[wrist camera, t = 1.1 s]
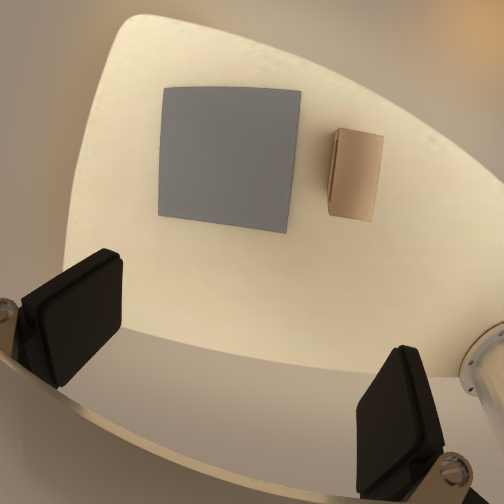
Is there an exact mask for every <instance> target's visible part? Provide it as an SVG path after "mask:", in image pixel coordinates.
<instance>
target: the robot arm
mask: <svg viewBox="0 0 504 504" xmlns="http://www.w3.org/2000/svg"><path fill="white" fill-rule="evenodd" d="M122 274H123V261H122V259H120V255H119V254H118V253H116V252H114V251H111V250H108V249H106V248H103V249H101V250H99V251H97V252H96V253H94V254H92V255H91V256H89V257H87V258H86V259H84V260H82V261H81V262H79V263H77V264H76V265H74V266H72V267H71V268H69V269H67V270H66V271H64V272H62V273H61V274H59V275H58V276H56V277H54V278H53V279H51V280H50V281H48V282H46V283H45V284H43V285H42V286H40V287H39V288H37V289H36V290H34V291H32V292H31V293H29V294H28V295H26V296H25V297H23V298H22V299H21V302H22V306H21V307H20V308H18V306H17V304H16V303H15V302H14V301H12V300H10V299H7V298H0V504H489V503H488V502H487V501H486V500H484V499H483V498H482V497H481V496H480V495H479V494H478V493H476V492H475V491H474V490H473V489H472V488H471V487H470V486H471V484H472V481H473V471H472V467H471V465H470V464H469V462H468V460H467V459H465V458H464V457H463V456H462V455H460V454H458V453H455V452H446V453H444V451H443V446H444V445H445V443H444V438H443V434H442V430H441V425H440V422H439V418H438V414H437V411H436V407H435V403H434V399H433V396H432V393H431V389H430V386H429V383H428V379H427V376H426V373H425V370H424V367H423V364H422V361H421V358H420V355H419V352H418V350H417V349H416V348H413V347H409V346H405V345H400V346H399V347H398V348H394V349H393V350H392V351H391V353H390V355H389V356H388V358H387V360H386V361H385V363H384V365H383V366H382V368H381V369H380V371H379V373H378V374H377V376H376V377H375V379H374V380H373V382H372V383H371V385H370V386H369V388H368V389H367V391H366V392H365V394H364V395H363V397H362V398H361V400H360V401H359V403H358V406H357V409H356V418H357V419H356V420H357V480H356V491H357V493H360V499H357V498H349V497H342V496H335V495H328V494H321V493H315V492H309V491H304V490H299V489H294V488H289V487H284V486H280V485H276V484H272V483H267V482H263V481H259V480H256V479H252V478H248V477H245V476H242V475H238V474H235V473H232V472H228V471H225V470H222V469H219V468H216V467H213V466H210V465H207V464H204V463H201V462H199V461H196V460H194V459H191V458H188V457H186V456H183V455H180V454H178V453H176V452H173V451H171V450H168V449H166V448H164V447H161V446H159V445H157V444H154V443H152V442H150V441H148V440H146V439H144V438H141V437H139V436H137V435H135V434H133V433H131V432H129V431H127V430H125V429H123V428H121V427H119V426H117V425H115V424H113V423H111V422H110V421H108V420H106V419H104V418H102V417H100V416H99V415H97V414H95V413H93V412H92V411H89V410H88V409H86V408H85V407H83V406H81V405H80V404H78V403H76V402H75V401H73V400H71V399H70V398H68V397H67V396H65V395H64V394H62V393H60V392H59V391H58V390H57V389H58V387H59V386H60V387H63V386H65V385H66V384H67V383H68V382H69V381H70V380H71V379H72V378H73V376H74V375H75V374H76V373H77V372H78V371H79V370H80V369H81V368H82V367H83V366H84V365H85V364H86V363H87V362H88V361H89V360H90V359H91V358H92V357H93V356H94V355H95V354H96V352H98V350H99V349H100V348H101V347H102V346H103V345H104V344H105V343H106V342H107V341H108V340H109V339H110V338H111V337H112V336H113V335H114V334H115V333H116V332H117V331H118V330H119V328H120V326H121V321H122ZM460 381H461V384H462V387H463V389H464V390H465V392H466V393H468V394H470V395H472V396H478V397H479V399H480V402H481V404H482V406H483V409H484V412H485V414H486V417H487V420H488V422H489V425H490V428H491V430H492V433H493V436H494V439H495V442H496V445H497V448H498V451H499V454H500V458H501V461H502V464H503V468H504V323H502V324H500V325H498V326H496V327H494V328H492V329H491V330H490V331H488V332H487V333H485V334H484V335H483V336H482V337H481V338H480V339H479V340H478V341H477V342H476V343H475V344H474V345H473V346H472V348H471V349H470V350H469V352H468V353H467V355H466V357H465V359H464V360H463V363H462V366H461V369H460Z"/></svg>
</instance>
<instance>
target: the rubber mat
mask: <svg viewBox="0 0 504 504" xmlns="http://www.w3.org/2000/svg"><path fill="white" fill-rule="evenodd" d="M300 98H301V91H293V90H282V89H269V88H251V87H175V88H164V94H163V106H162V119H161V136H160V157H159V196H158V216H166V217H174V218H181V219H189V220H196V221H203V222H210V223H217V224H225V225H232V226H239V227H245V228H252V229H259V230H266V231H272V232H279V233H286V228H287V220H288V212H289V203H290V195H291V186H292V177H293V168H294V159H295V149H296V140H297V130H298V119H299V109H300Z"/></svg>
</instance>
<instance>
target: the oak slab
mask: <svg viewBox="0 0 504 504" xmlns="http://www.w3.org/2000/svg"><path fill="white" fill-rule="evenodd" d="M383 139H384V136H381V135H376V134H371V133H366V132H360V131H354V130H349V129H342V128H339V129H338V130H337V131H335V134H334V143H333V152H332V160H331V168H330V176H329V184H328V191H327V198H328V212H329V215H332V216H338V217H344V218H350V219H356V220H362V221H367V222H371V218H372V213H373V207H374V201H375V195H376V189H377V183H378V177H379V170H380V163H381V155H382V148H383Z"/></svg>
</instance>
